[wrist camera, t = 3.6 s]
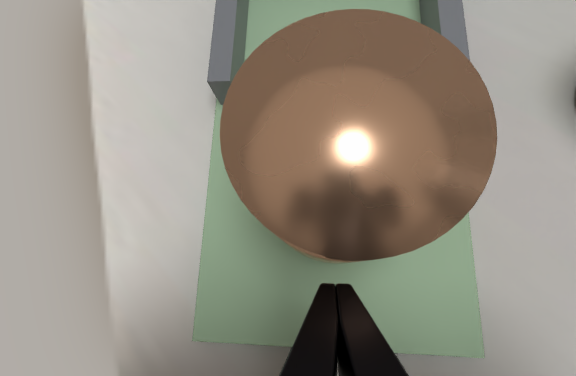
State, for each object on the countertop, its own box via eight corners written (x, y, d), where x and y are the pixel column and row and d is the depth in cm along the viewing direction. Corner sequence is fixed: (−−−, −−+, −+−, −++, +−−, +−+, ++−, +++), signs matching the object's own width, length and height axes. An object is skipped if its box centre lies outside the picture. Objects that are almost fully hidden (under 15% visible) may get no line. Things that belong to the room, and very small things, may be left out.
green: (477, 354, 14) (484, 358, 14) (196, 338, 16) (192, 341, 15) (437, -22, 20) (441, -31, 19) (230, -12, 21) (228, -20, 20)
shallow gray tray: (450, 102, 17) (471, 75, 15) (220, 105, 18) (207, 81, 16) (436, -31, 19) (453, -71, 17) (232, -20, 20) (222, -57, 18)
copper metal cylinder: (412, 267, 15) (515, 267, 7) (259, 259, 16) (205, 253, 8) (405, 124, 17) (480, 5, 9) (268, 123, 18) (232, 12, 10)
